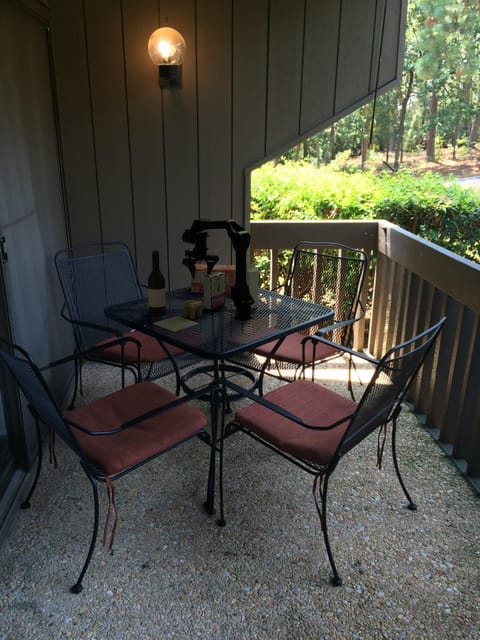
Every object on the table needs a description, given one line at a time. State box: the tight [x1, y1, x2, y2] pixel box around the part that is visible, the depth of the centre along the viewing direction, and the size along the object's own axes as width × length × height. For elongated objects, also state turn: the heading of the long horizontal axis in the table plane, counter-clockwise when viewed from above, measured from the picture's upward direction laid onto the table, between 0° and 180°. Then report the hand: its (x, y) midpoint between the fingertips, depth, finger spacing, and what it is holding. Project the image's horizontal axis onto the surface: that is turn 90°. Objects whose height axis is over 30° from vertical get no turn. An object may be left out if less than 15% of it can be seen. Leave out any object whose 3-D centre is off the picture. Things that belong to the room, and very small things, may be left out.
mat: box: [152, 315, 199, 333], centre depth 218 cm, size 14×14×1 cm
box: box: [190, 263, 236, 294], centre depth 270 cm, size 27×13×14 cm, turn 93°
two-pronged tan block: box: [183, 299, 203, 320], centre depth 228 cm, size 6×6×7 cm
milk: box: [242, 262, 260, 310], centre depth 241 cm, size 6×6×22 cm
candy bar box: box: [203, 272, 226, 311], centre depth 242 cm, size 11×5×16 cm, turn 143°
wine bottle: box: [147, 249, 167, 317], centre depth 228 cm, size 8×8×30 cm
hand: (201, 277), depth 241 cm, fingers open, 9 cm apart
